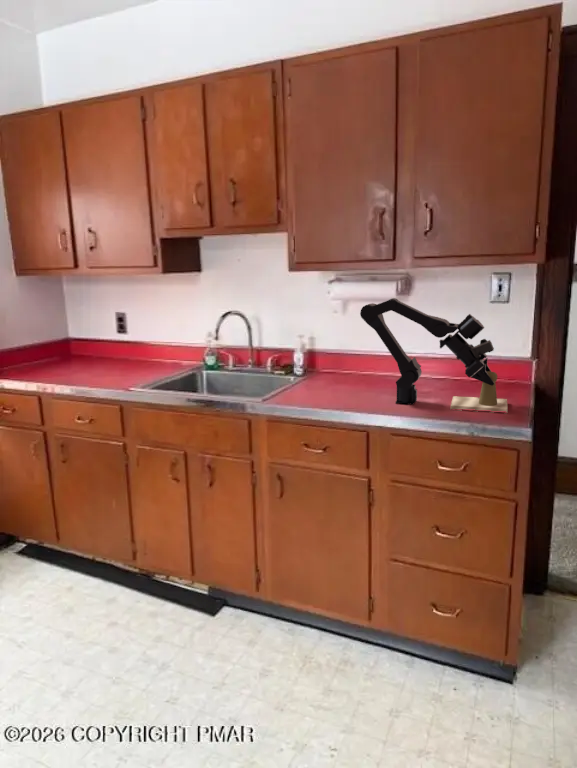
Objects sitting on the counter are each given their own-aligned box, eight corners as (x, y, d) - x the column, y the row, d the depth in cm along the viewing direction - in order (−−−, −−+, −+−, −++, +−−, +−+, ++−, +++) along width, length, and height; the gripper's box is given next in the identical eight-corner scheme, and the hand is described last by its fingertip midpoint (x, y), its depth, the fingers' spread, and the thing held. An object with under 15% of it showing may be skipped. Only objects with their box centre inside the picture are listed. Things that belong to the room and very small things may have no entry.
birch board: (450, 409, 192) (450, 405, 192) (453, 400, 204) (453, 396, 204) (507, 413, 186) (507, 408, 186) (506, 403, 198) (507, 399, 198)
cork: (500, 405, 190) (502, 373, 188) (483, 406, 190) (484, 374, 187) (492, 400, 196) (494, 369, 194) (475, 401, 196) (477, 370, 193)
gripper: (477, 336, 180) (512, 372, 179) (481, 328, 197) (513, 361, 196) (451, 359, 185) (485, 394, 183) (457, 350, 202) (488, 382, 200)
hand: (493, 382), depth 191 cm, fingers open, 8 cm apart
